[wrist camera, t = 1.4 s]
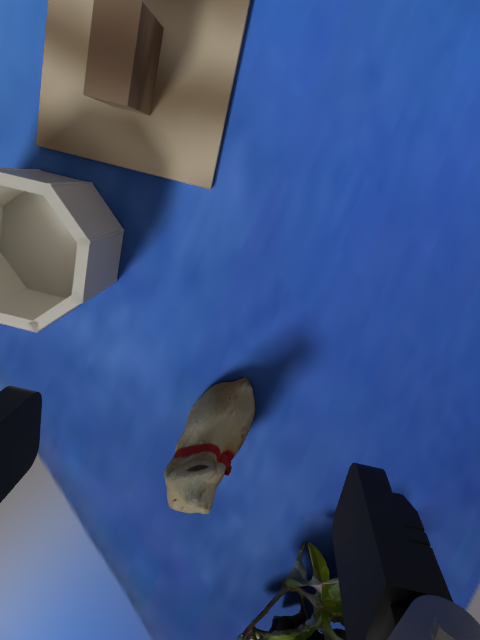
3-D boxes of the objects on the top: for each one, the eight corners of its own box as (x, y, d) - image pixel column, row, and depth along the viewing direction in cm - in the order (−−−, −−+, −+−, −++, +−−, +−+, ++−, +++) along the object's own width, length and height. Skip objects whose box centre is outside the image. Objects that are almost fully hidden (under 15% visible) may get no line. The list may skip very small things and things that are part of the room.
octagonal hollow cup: (1, 160, 31) (-62, 156, 25) (130, 191, 31) (96, 194, 25) (-6, 286, 34) (-64, 308, 28) (112, 315, 34) (78, 343, 28)
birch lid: (62, -61, 27) (10, -117, 22) (254, -14, 27) (248, -58, 22) (43, 146, 31) (-5, 140, 26) (212, 188, 31) (198, 191, 26)
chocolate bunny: (158, 412, 36) (113, 497, 26) (243, 369, 34) (228, 442, 25) (194, 466, 37) (165, 565, 28) (279, 426, 35) (278, 518, 26)
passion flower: (302, 563, 46) (230, 680, 38) (284, 487, 41) (196, 604, 33) (415, 623, 39) (354, 782, 31) (409, 541, 34) (336, 705, 26)
